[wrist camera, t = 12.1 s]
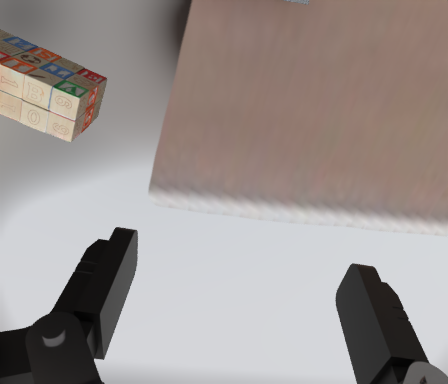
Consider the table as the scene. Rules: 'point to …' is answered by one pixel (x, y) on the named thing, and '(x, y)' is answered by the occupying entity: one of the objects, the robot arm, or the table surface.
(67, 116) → the stack of blocks
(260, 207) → the table surface
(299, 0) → the board
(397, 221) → the table surface
